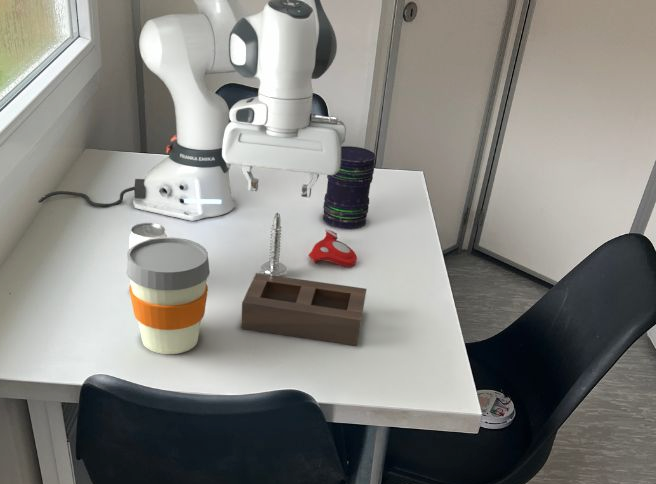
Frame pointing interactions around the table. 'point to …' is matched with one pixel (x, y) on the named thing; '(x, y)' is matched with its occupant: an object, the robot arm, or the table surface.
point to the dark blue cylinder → (349, 189)
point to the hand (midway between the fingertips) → (279, 193)
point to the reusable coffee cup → (168, 292)
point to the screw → (274, 251)
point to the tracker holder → (333, 250)
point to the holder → (303, 309)
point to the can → (146, 232)
